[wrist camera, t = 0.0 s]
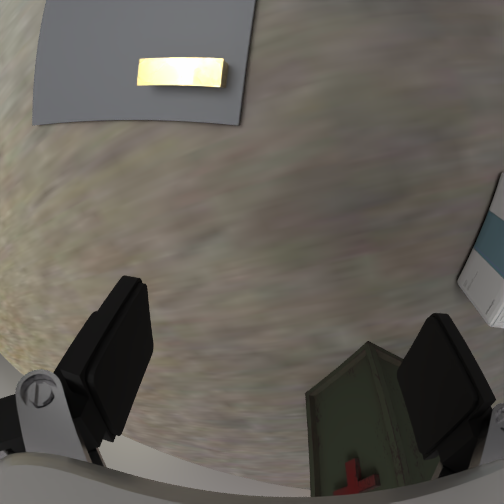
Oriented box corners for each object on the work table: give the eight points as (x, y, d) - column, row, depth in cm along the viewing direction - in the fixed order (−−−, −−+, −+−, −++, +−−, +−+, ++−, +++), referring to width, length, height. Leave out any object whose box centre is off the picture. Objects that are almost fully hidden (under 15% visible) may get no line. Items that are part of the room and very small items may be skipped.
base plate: (62, -37, 21) (57, -39, 20) (266, -66, 21) (266, -70, 20) (38, 124, 35) (32, 125, 34) (239, 124, 35) (238, 125, 34)
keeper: (152, 62, 30) (139, 58, 27) (228, 63, 30) (223, 58, 27) (150, 86, 32) (136, 85, 28) (225, 88, 32) (220, 86, 28)
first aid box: (363, 412, 62) (384, 562, 27) (305, 393, 58) (311, 575, 23) (421, 368, 54) (471, 533, 19) (367, 340, 50) (415, 557, 15)
